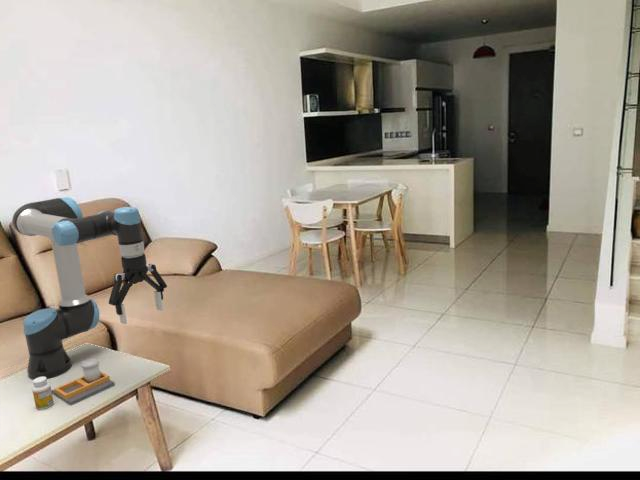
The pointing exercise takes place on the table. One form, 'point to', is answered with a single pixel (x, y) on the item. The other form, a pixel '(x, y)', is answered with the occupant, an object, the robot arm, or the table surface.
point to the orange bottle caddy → (84, 383)
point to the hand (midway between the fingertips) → (142, 316)
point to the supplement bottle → (42, 393)
